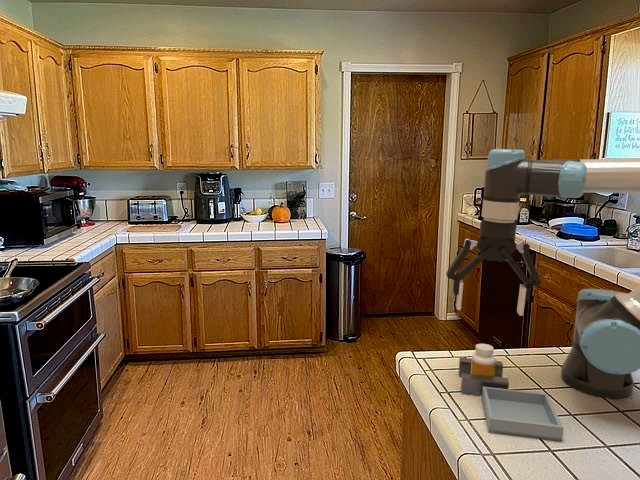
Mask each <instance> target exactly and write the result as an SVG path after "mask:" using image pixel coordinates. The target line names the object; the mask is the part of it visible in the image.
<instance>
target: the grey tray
mask: <svg viewBox="0 0 640 480" xmlns="http://www.w3.org/2000/svg"><path fill="white" fill-rule="evenodd" d="M481 402H482V406H483V407H482V408H483V412H484V416H485V420H486V421H485V422H486V424H487V425H486V427H487V431H488V433H491V434H500V435H507V436H514V437H515V436H516V437H523V438H529V439H538V440H546V441H551V442H552V441H554V442H560V443H561V442H563V435H564V426H563V424H562V422H561V419H560V417H559V415H558V413H557V411H556V409H555V407H554V405H553V403H552V401H551V399H550V397H549V394H548V393H545V392H536V391H535V392H534V391H527V390H526V391H525V390H518V389H517V390H516V389H510V388H509V389H501V388H492V387H483V388H482V396H481Z"/></svg>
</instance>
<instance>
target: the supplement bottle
mask: <svg viewBox="0 0 640 480" xmlns="http://www.w3.org/2000/svg"><path fill="white" fill-rule="evenodd" d="M474 351H475V352H474V353H472V356H471V359H472V362H471V374H475V375H484V376H494V377H495V365H496V361H497V359H496V356H494V346H492V345H491V344H488V343H487V344H486V343H477V344H475V350H474Z"/></svg>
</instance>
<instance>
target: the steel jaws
mask: <svg viewBox="0 0 640 480" xmlns="http://www.w3.org/2000/svg"><path fill="white" fill-rule="evenodd" d="M471 362H472V357H471V358H470V357H461V356H460V357H459V362H458V376H459V377H461V380H460V381H461V383H460V394H461V395H465V396H466V395H467V396H475V397H482V388H483V387H492V388H501V389H510V382H509V381H510V380H509V378H508V377H503V372H504V364H503V361H499V360H496V365H495V377H494V376H484V375H475V374H471Z"/></svg>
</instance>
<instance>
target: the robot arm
mask: <svg viewBox="0 0 640 480" xmlns="http://www.w3.org/2000/svg"><path fill="white" fill-rule="evenodd" d="M483 189H484V190H483V197H482V198H483V199H482V206H481V207H482V209H481V217H482V219H481V220H480V225H479V226H480V227H479V234H478V236H479V237H478V239H477V240H472V239H469V238H467V237H466V238H464V239H463V244H462V247H461V249H460V251H458V254H457V256H456V257H455V259H454V260H453V262H452V263H451V264H450V266H449V268H447V271H446V273H445V274H446V277H447V279H448V280H449V279H451V280H452V281H453V283H452V284H453V286H452V292H453V295H454V296H455V295H456V302H455V303H456V304H455V307H456V310H457V311H461V310H462V302H463V289H464V280H463V279H464V278H465V277H466V276H467V275H468V274H469V273H470V272H472V270H473V269H474V268H476V266H478V265H479V264H480V263H482V262H483V261H484V260H486V261H487V262H494V261H495V262H499V263H503V262H505V261H507V263H508V264H509V265H510V267H511V268H512V269H513V271H514V272H515V273H516V274H517V276H518V277H519V279H520V280H521V281H522V283H523V284H521V283H520V284H519V292H518V299H517V307H516V313H517V314H518V315H519V317H521V316H524V311H525V310H524V309H525V305H526V302H529V301H530V299H531V293H532V289H533V287H535V286H540V285H542V281H541V279H540V276H539V274H538V272H537V268H536V267H535V264H534V261H533V258H532V256H531V254H530V253H531V252H530V249H531V248H530V247H531V246H530V245H529V244H528V243H527V242H526V241H523V242H520V243H517V242H516V233H517V223H516V220H518V217H519V209H520V208H519V207H520V206H519V205H520V197H521V195H526V196H528V195H529V196H541V197H553V198H561V199H578V198H581V197H582V196H583V194H584V193H593V194H595V193H597V194H600V193H601V194H640V158H604V159H603V158H597V159H596V158H594V159H593V158H592V159H591V158H590V159H589V158H588V159H585V158H584V159H581V158H580V159H561V158H551V159H550V158H549V159H547V160H546V159H545V160H544V159H537V160H536V159H530V158H526V152H525V151H524V150H523V149H507V148H506V149H505V148H504V149H503V148H494V149H491V150H490V151H489V153H488V156H487V162H486V168H485V176H484V188H483ZM474 247H476V248H477V249H478V252H477V253H476V254H475V255H474V256H473V258H471V259H470V260H469V261H468V262H467V263H465V265H464V266H463V267H461V268H460V266H461V265H462V263H463V262H464V260H465V259H466V257H467V255H468V253H470V251H471V250H473V249H474ZM516 250H518V252H519V253H520V254H521V256H522V258H523V260H524V263H525V266H526V267H527V271H528V274H529V275H530V278H531V279H529V278H528V277H527V275H526V274H525V273H524V271H523V269H521V267H520V266H519V265H518V263H517V262H516V260H515V259H514V258H513V256H512V254H513V253H514V252H515V251H516ZM459 268H460V270H459ZM576 303H577V304H576V311H575V320H574V329H573V338H572V346H571V349H570V351H569V353H568V355H567V356H566V358H565V360H564V362H563V364H562V366H561V371H560V378H561V380H562V381H563V382H564V383H565V384H566V385H567V386H569V387H570V388H572V389H574V390H575V391H578V392H581V393H584V394H587V395H590V396H593V397H594V396H595V397H598V398H605V399H625V398H628V397H629V396H631V395H632V394H633V393H634V385H635V383H634V381H635V380H634V378H633V374H632V373H634V372H637V371H639V370H640V284H638V285H637V286H636V287H635V288H633V290H631V291H630V292H629V293H626V292H621V291H617V290H610V289H600V288H583V289H581V290H579V291H578V295H577V298H576Z"/></svg>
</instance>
